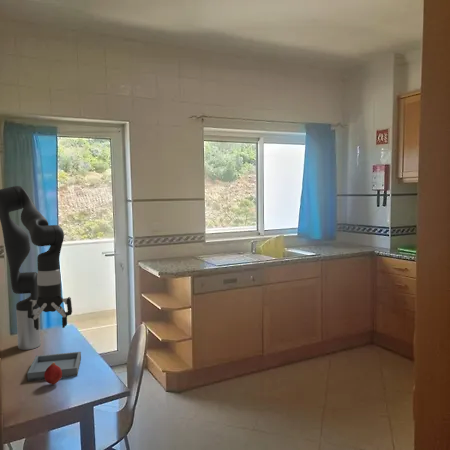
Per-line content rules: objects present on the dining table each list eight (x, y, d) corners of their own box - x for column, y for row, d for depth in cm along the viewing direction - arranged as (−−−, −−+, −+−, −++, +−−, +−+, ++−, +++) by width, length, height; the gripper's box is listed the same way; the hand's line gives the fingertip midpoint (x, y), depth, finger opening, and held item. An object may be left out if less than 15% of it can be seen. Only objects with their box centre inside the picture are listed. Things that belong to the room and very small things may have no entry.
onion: (45, 389, 144) (44, 367, 144) (44, 383, 150) (43, 361, 149) (63, 386, 147) (62, 363, 147) (61, 379, 152) (60, 358, 152)
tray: (36, 363, 168) (36, 355, 167) (81, 358, 172) (80, 351, 172) (27, 381, 151) (27, 373, 151) (77, 375, 155) (77, 367, 155)
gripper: (72, 279, 151) (73, 323, 152) (29, 281, 148) (31, 326, 149) (69, 283, 144) (71, 329, 145) (24, 285, 140) (26, 333, 141)
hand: (50, 328), depth 147 cm, fingers open, 8 cm apart
